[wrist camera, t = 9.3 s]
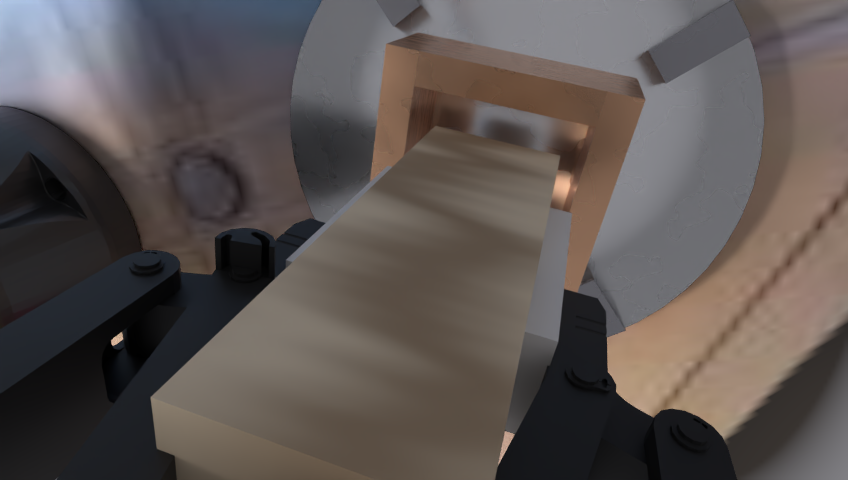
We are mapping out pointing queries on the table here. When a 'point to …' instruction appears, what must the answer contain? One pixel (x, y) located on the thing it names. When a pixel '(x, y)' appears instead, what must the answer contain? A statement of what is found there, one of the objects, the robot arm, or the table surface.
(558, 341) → the robot arm
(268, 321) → the wedge pin
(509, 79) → the rosette plate
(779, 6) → the table surface
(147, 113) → the table surface
